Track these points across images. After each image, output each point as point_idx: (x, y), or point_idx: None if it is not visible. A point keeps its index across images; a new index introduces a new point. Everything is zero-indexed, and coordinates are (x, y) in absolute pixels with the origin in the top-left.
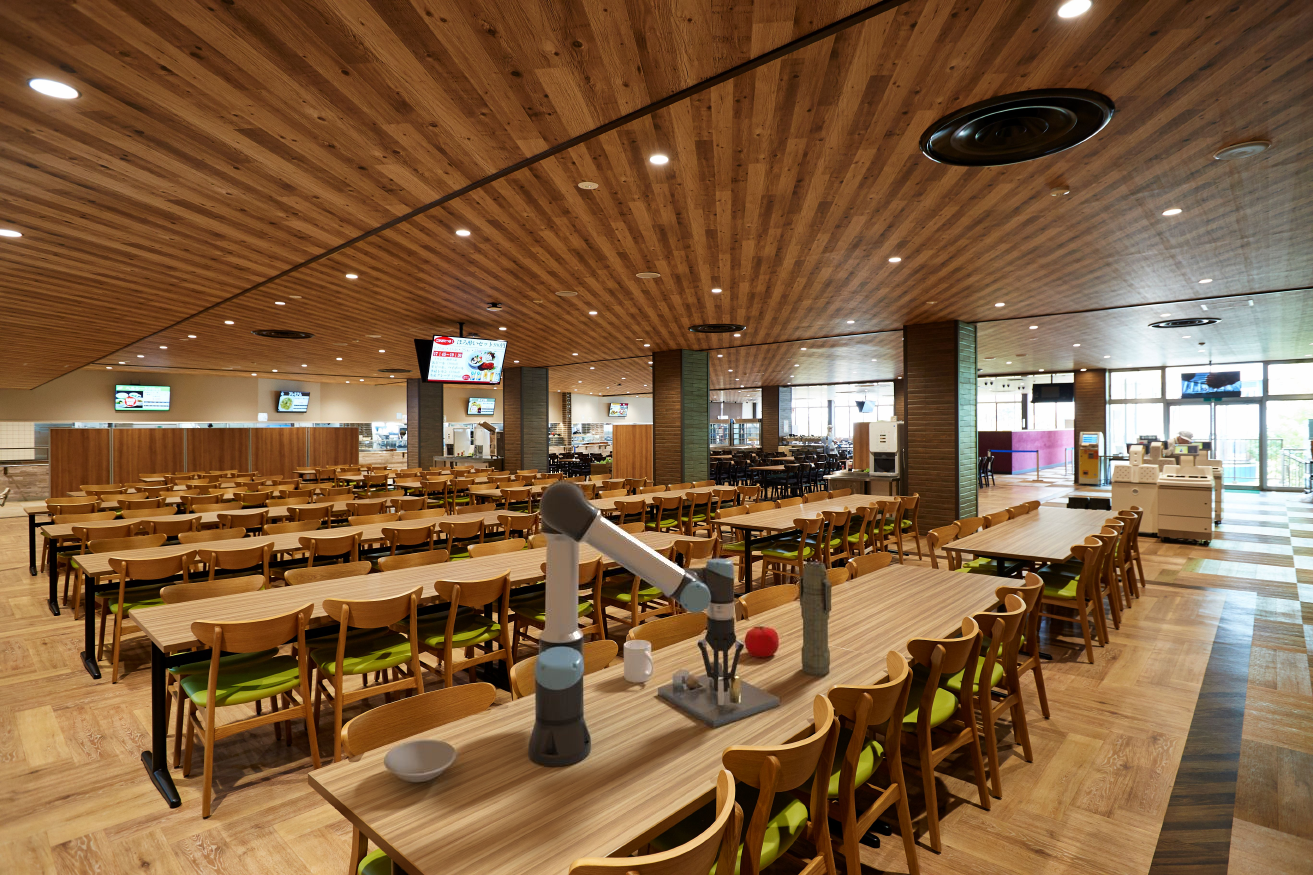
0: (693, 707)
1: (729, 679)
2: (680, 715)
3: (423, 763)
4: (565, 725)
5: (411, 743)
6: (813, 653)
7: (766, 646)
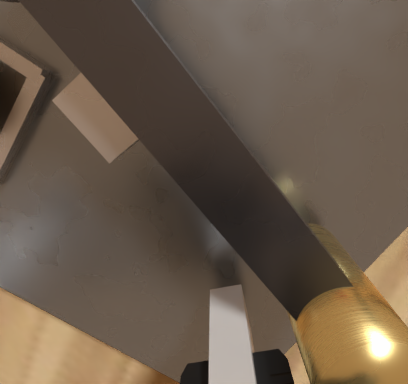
0: (93, 328)
1: (272, 241)
2: (56, 326)
3: None
4: None
5: None
6: None
7: None
